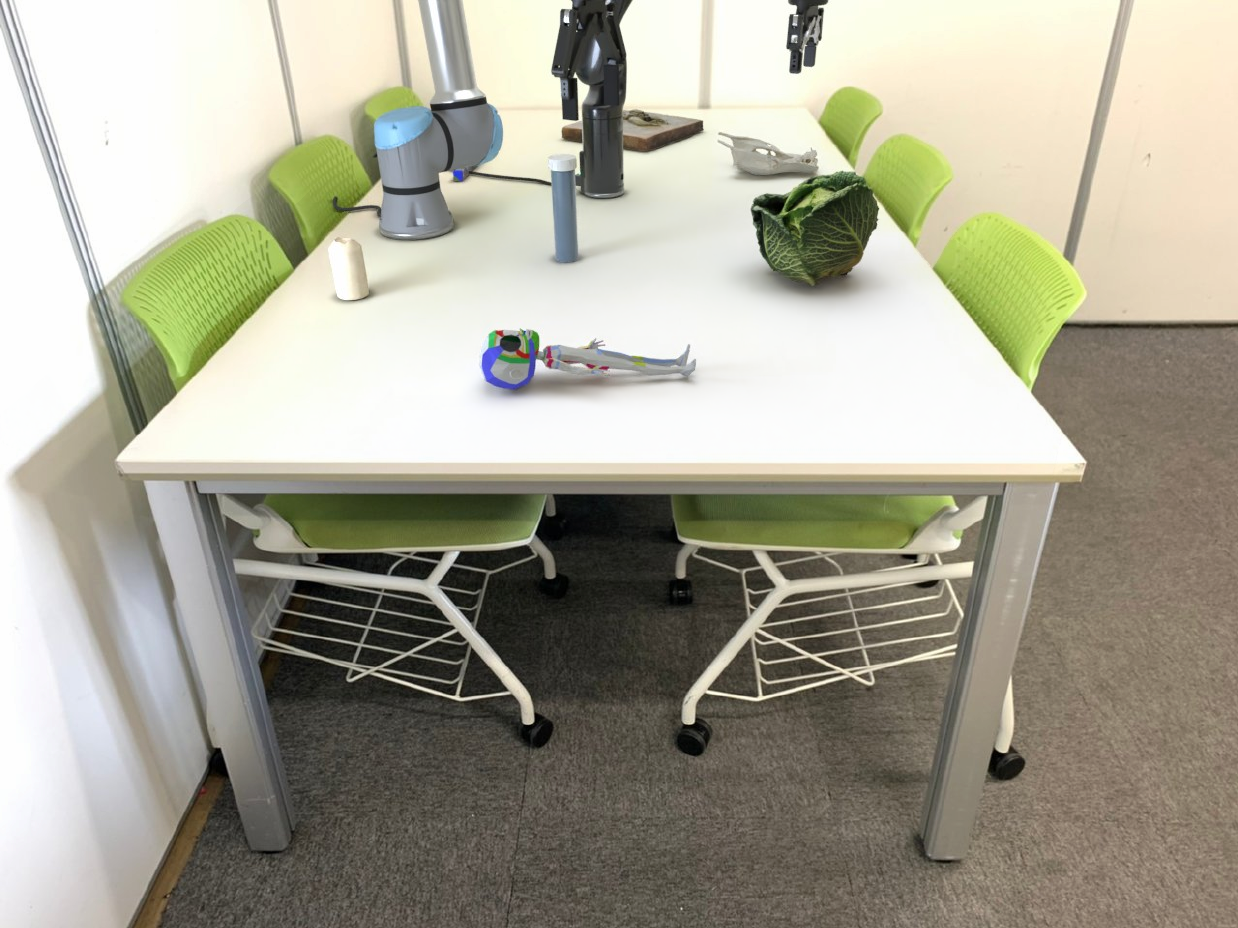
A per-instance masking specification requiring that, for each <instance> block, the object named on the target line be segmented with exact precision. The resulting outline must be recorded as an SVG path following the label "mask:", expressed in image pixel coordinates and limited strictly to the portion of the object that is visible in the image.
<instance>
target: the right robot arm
mask: <svg viewBox="0 0 1238 928" xmlns="http://www.w3.org/2000/svg"><path fill="white" fill-rule="evenodd" d="M633 1H634V0H605V2H616V7H617V18H618V22H619V26H620V25H621V22H622V20H623V18H624V16H625V14H626V13H627V11H628V10H629V7H630V6H631V4H632V3H633ZM787 3H788V4H789V5H790V6H796V9H795V13H790V14H789V16H788V26H787V35H786V45H785V47H786V50H788V51H789V53H790V57H789V69H788V71H789V73H790V74H793V75H799V74H801V73H802V68H803V67H805V68H813V67H815V65H816V57H817V48H818V46H819V43H820V42H821V41H822V39H823V25H824V13H825V8H824V7H821V6H825V5H827V4H829V0H787ZM618 51H619V50H618ZM603 65H609V64H607V63H606V60H605V58H604V56H603V54H602V52H601V50H600V48H599V46H598V43H597V41H596V39H595V37H594V36H593V37H590V38H589V40H588V41H586V42H585V45H584V48H583V51H582V54H581V57H580V60H579V63H578V66H577V69H576V71H575V75H576V78H577V80H579V82H581V83H582V84H583V85H586V86H589V87H588V91H587V93H586V96H585V97H584V99H583V100H582V103H581V109H580V112H581V121H582V140H583V142H582V150H580V151H579V153H578V156H579V172H578V173H575V183H576V187H580V195H585V196H587V197H589V198H595V199H612V198H617V197H620V196H622V195H624V193H625V187H624V186H625V183H624V181H625V174H624V173H625V172H624V148H623V110H624V107H625V103H626V99H627V82H628V81H627V79H628V78H627V76H628V61H627V58H626V59H625V64H624V65H619V106H611V105H604V70H603ZM802 65H803V66H802ZM372 158H378V156H377V152H376V153H375V154H373V156H372ZM451 171H452V172H453V171H454V170H451ZM469 175H473V176H478V177H484V178H485V177H486V178H492V179H500V180H501V179H502V180H511V181H522V182H532V183H539V184H543V185H546V186H551V187H552V184H551V181H547V180H544V179H540V178H533V177H522V176H511V175H501V174H494V173H485V172H479V171H474V170H473V171H469Z"/></svg>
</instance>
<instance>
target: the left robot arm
mask: <svg viewBox="0 0 1238 928" xmlns="http://www.w3.org/2000/svg"><path fill="white" fill-rule="evenodd" d="M570 1H571V3H572V5H571V8H560V10H559V11H560V12H559V26H558V27H559V28H558V33H557V39H556V43H555V49H554V52H553V53H554V54H553V57H552V64H551V70H550V72H551V75H552V76H553V77H554V78H559V81H560V82H559V83H560V97H561V115H562V117H561V118H562V120H563V121H571V122H573V121H574V122H579V121H580V118H579V117H580V115H579V113H580V112H579V89H578V88H579V86H578V77H575V75H576V73H575V71H576V69H577V66H578V63H579V60H580V57H581V54H582V51H583V48H584V45H585V42H586V41H588V40H589V38H590V37H593V36H594V37H595V39H596V41H597V43H598V46H599V48H600V50H601V52H602V54H603V56H604V58H605V60H606V63H607V64H609V65H603V70H604V105H611V106H619V65H624V64H625V59H627V50H626V46H625V43H624V38H623V35H622V34H623V33H622V31H621V26H620V25H619V22H618V18H617V7H616V2H605V0H570ZM417 2H418V7H419V12H420V18H421V23H422V29H423V33H424V39H425V45H426V51H427V56H428V60H429V61H428V62H429V68H430V71H431V72H430V73H431V79H432V83H433V88H434V89H433V90H434V94H433V96H432V97H431V98H430V100H429V106H430V108H429V107H427V106H424V105H423V106H422V105H413V106H408V107H399V108H396V109H392V110H389V111H387V112H385V113H383V114H381V115H379V116H378V117H377V118H376V119H375V121H374V124H373V133H374V134H373V135H374V146H375V149H376V153H377V161H378V168H379V175H380V180H381V187H382V194H383V195H382V201H381V206H379V205H376V204H366V205H365V204H364V205H359V206H352V207H341V206H339V205H338V204H337V202H338V201H339V200H338V199H339V198H338V196H336V195H334V197H332V198H333V199H332V205H333V208H334V209H335V210H337V211H339V212H353V211H363V210H370V209H371V210H377V211H376V214H377V216H379V220H378V226H379V232H380V234H381V235H383V236H384V237H386V238H390V239H394V240H402V241H411V240H413V241H415V240H426V239H430V238H431V239H432V238H435V237H439V236H442V235H445V234H447V233H449V232H451V231H452V230H453V229H454V226H455V225H454V218H453V215H452V212H451V211H450V210H449V207H448V204H447V202H446V199H445V196H444V194H443V192H442V189H441V181H440V173H445V172H451V171H452V170H456V169H460V168H465V167H470V166H477V167H478V166H481V165H483V164H487V163H490V162H492V161H493V160H495V159H496V158H497V156H498V155H499V153H500V151H501V149H502V146H503V141H504V125H503V121H502V118H501V115H500V114H498V113H499V111H498V110H497V108H496V107H495V106H494V105H492V104H491V103H489V102H488V101H487V100H488V99H487V95H486V93H484V92H483V91H482V90H480V89H479V87H478V84H477V78H476V74H475V73H476V72H475V67H474V62H473V54H472V48H471V42H470V37H469V31H468V25H467V18H466V13H465V8H464V6H465V5H464V0H417ZM618 50H619V51H618Z"/></svg>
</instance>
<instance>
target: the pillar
mask: <svg viewBox="0 0 1238 928" xmlns="http://www.w3.org/2000/svg"><path fill="white" fill-rule="evenodd" d="M477 167H478V166H470V167H465V168H460V169H456V170H454V171H452V179H453V182H463V181H464V180H465V179H466V178H467V177H468V176H469V175H470V174H469V171H473V172H474V170H475V169H476V168H477Z"/></svg>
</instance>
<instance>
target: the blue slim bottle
mask: <svg viewBox="0 0 1238 928" xmlns="http://www.w3.org/2000/svg"><path fill="white" fill-rule="evenodd" d="M575 175H576V169H574V170H571V171H563V172H560V171H552V170H550V178H551V179H550V180H551V181H550V182H551V184H552V186H551V201H552V217H553V218H552V219H553V237H554V257H555V261H557V262H559V263H573V262H577V261H578V260H579V233H578V211H577V210H578V209H577V189H576V188H577V186H576V183H575Z"/></svg>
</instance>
